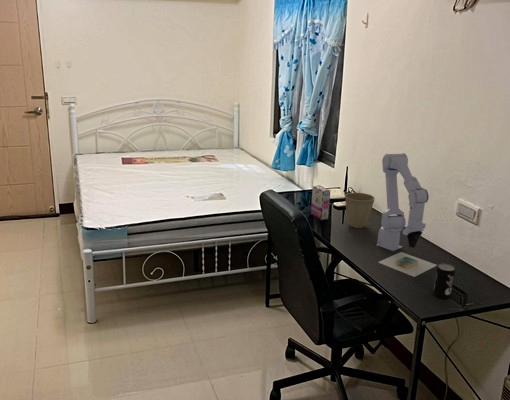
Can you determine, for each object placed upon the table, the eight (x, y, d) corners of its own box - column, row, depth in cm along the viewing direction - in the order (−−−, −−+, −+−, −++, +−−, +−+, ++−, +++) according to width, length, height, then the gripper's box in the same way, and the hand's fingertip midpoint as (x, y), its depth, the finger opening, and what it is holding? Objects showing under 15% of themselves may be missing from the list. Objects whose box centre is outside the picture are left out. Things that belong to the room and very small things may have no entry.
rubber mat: (377, 263, 217) (377, 262, 217) (401, 252, 228) (401, 251, 228) (414, 277, 204) (414, 276, 204) (437, 266, 215) (437, 265, 215)
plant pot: (374, 231, 254) (377, 201, 249) (345, 230, 254) (347, 200, 250) (368, 221, 268) (371, 192, 264) (340, 220, 269) (343, 191, 264)
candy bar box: (328, 219, 270) (331, 190, 265) (321, 220, 268) (323, 191, 263) (318, 212, 279) (319, 184, 274) (310, 214, 277) (312, 185, 272)
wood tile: (405, 259, 220) (395, 264, 215) (405, 256, 220) (395, 260, 215) (417, 264, 216) (407, 269, 211) (418, 260, 215) (407, 265, 210)
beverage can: (439, 300, 186) (444, 271, 183) (429, 292, 192) (433, 264, 189) (454, 298, 188) (459, 269, 184) (444, 290, 194) (448, 262, 190)
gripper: (414, 223, 203) (410, 253, 208) (433, 216, 213) (429, 245, 217) (399, 218, 209) (396, 248, 213) (418, 211, 218) (414, 240, 222)
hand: (412, 246), depth 215 cm, fingers closed
